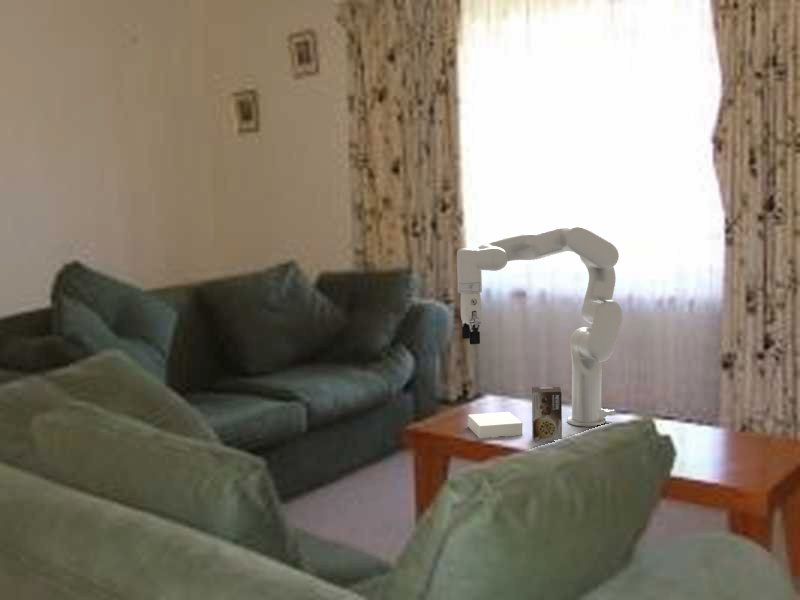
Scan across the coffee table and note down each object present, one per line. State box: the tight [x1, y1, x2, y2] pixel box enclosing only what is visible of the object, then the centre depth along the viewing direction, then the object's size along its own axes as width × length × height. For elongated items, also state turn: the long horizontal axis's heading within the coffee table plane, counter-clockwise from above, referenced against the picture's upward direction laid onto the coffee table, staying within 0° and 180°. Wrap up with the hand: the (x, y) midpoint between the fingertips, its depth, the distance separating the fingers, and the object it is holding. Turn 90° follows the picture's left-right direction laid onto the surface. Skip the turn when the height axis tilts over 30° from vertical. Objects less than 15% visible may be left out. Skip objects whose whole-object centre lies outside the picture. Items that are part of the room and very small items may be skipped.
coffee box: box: [531, 386, 563, 443], centre depth 299 cm, size 9×6×16 cm
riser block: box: [467, 411, 523, 439], centre depth 311 cm, size 14×14×4 cm
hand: (471, 341), depth 304 cm, fingers open, 9 cm apart
